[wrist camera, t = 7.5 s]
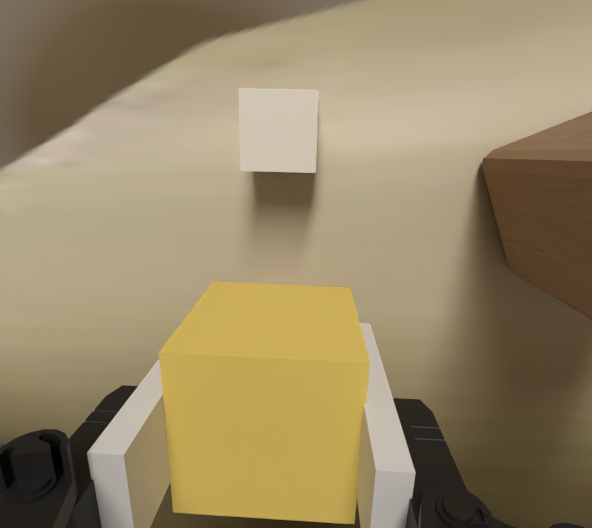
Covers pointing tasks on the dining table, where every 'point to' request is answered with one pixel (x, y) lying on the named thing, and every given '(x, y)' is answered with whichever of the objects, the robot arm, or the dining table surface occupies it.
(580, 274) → the wooden block
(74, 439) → the robot arm
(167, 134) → the dining table surface
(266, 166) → the cream cube
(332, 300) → the mustard cube
